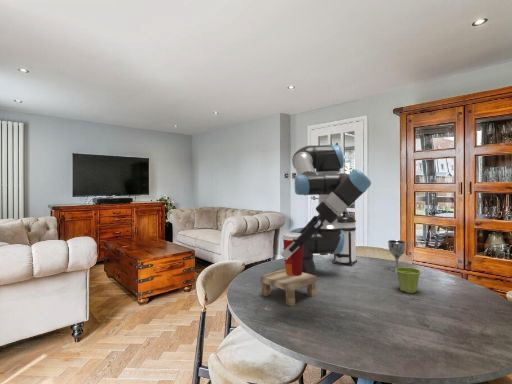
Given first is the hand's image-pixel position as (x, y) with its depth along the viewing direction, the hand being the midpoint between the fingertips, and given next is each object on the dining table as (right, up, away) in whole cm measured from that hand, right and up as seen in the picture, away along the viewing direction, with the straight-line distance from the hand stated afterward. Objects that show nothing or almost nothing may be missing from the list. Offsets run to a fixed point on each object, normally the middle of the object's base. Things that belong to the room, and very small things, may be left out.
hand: (284, 253), depth 101 cm
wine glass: (+63, -19, +48) cm, 81 cm away
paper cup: (+3, -7, 0) cm, 8 cm away
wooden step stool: (+3, -20, +16) cm, 26 cm away
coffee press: (+41, -19, +62) cm, 77 cm away
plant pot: (+54, -20, +18) cm, 60 cm away
